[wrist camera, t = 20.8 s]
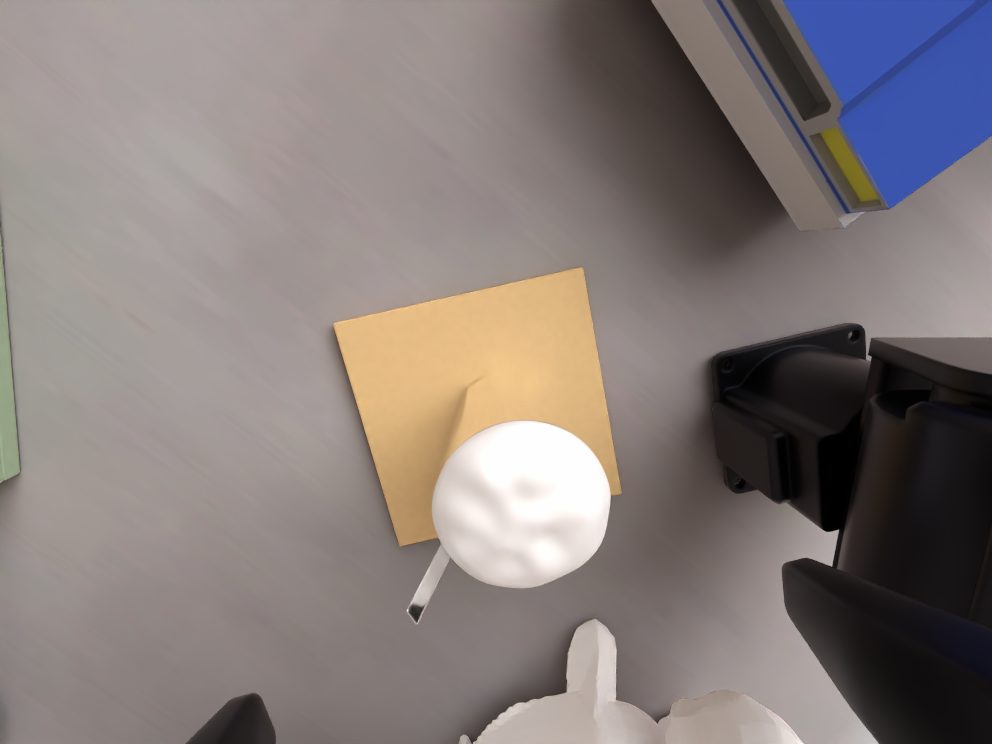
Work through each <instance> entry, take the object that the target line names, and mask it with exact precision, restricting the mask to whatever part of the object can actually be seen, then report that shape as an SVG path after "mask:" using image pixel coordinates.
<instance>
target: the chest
mask: <svg viewBox="0 0 992 744" xmlns="http://www.w3.org/2000/svg"><path fill="white" fill-rule="evenodd" d="M19 473H20V464H19V451H18V439H17V427H16V414H15V402H14V389H13V377H12V365H11V352H10V340H9V327H8V315H7V303H6V290H5V278H4V265H3V253H2V241H1V228H0V483H2V482H3V481H5V480H7V479H9V478H11V477H13V476H15V475H17V474H19Z"/></svg>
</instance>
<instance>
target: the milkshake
mask: <svg viewBox="0 0 992 744" xmlns="http://www.w3.org/2000/svg"><path fill="white" fill-rule="evenodd" d="M610 501H611V495H610V487H609V483H608V480H607V477H606V474H605V472H604V470H603V468H602V466H601V464H600V462H599V460H598V459H597V457H596V456H595V454H594V453H593V452H592V451H591V449H590V448H589V447H588V446H587V445H586V444H585V443H584V442H583V441H582V440H581V439H580V438H579V437H577V436H576V435H575V434H574V433H573V432H572V431H571V430H570V429H569V428H568V427H567V426H566V425H565V424H563V423H562V422H561V421H560V420H559V419H558V418H557V417H555V416H554V415H553V414H552V413H551V412H550V410H549V409H548V408H547V407H546V406H545V405H544V404H543V403H542V402H541V401H540V399H539V398H538V397H537V396H536V395H535V394H534V393H533V392H532V391H531V390H530V389H529V388H527V387H526V386H525V385H524V384H523V383H522V382H521V381H520V380H519V379H518V378H517V377H515V376H507V375H498V374H489V375H487V376H485V377H483V378H482V379H480V380H478V381H476V382H474V383H473V384H471V385H469V386H468V387H467V390H466V392H465V394H464V396H463V398H462V400H461V402H460V404H459V407H458V409H457V413H456V417H455V421H454V425H453V429H452V434H451V438H450V442H449V446H448V450H447V452H446V455H445V458H444V461H443V465H442V468H441V471H440V474H439V477H438V480H437V483H436V486H435V489H434V493H433V499H432V518H433V523H434V527H435V530H436V533H437V535H438V538H439V540H440V542H441V545H440V546H439V548H438V550H437V552H436V554H435V556H434V558H433V560H432V562H431V563H430V565H429V567H428V569H427V571H426V573H425V575H424V577H423V579H422V581H421V582H420V584H419V586H418V588H417V590H416V592H415V594H414V596H413V598H412V599H411V601H410V603H409V605H408V607H407V614H408V615H409V616H410V618H411V619H412V621H413V622H414V623H415V624H416V625H417V624H418V623H419V621H420V619H421V617H422V615H423V613H424V611H425V609H426V607H427V605H428V603H429V601H430V599H431V597H432V595H433V593H434V591H435V589H436V587H437V585H438V583H439V581H440V579H441V577H442V574H443V572H444V570H445V568H446V566H447V564H448V562H449V560H450V558H452V559H453V561H454V562H455V563H456V564H457V565H458V566H459V567H460V568H462V569H463V570H464V571H465V572H466V573H468V574H469V575H471V576H472V577H474V578H476V579H477V580H480V581H482V582H484V583H487V584H490V585H495V586H500V587H508V588H529V587H536V586H540V585H543V584H546V583H548V582H551V581H553V580H555V579H558V578H560V577H562V576H564V575H566V574H568V573H570V572H572V571H574V570H576V569H577V568H579V567H580V566H582V565H583V564H584V563H585V562H587V561H588V560H589V559H590V558H591V557H592V555H593V554H594V553H595V552H596V551H597V549H598V548H599V546H600V544H601V543H602V540H603V538H604V535H605V531H606V527H607V521H608V515H609V509H610Z"/></svg>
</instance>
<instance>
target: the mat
mask: <svg viewBox="0 0 992 744" xmlns="http://www.w3.org/2000/svg"><path fill="white" fill-rule="evenodd" d="M333 327H334V330H335V333H336V337H337V340H338V343H339V347H340V350H341V353H342V357H343V360H344V363H345V367H346V370H347V373H348V377H349V380H350V383H351V387H352V390H353V393H354V397H355V400H356V403H357V407H358V410H359V413H360V417H361V420H362V423H363V427H364V430H365V433H366V437H367V440H368V443H369V446H370V450H371V453H372V456H373V460H374V463H375V466H376V470H377V473H378V476H379V480H380V483H381V486H382V490H383V493H384V496H385V500H386V503H387V506H388V510H389V513H390V516H391V520H392V523H393V526H394V530H395V533H396V536H397V540H398V543H399V546H400V547H401V546H405V545H409V544H414V543H418V542H422V541H426V540H430V539H435V538H438V535H437V533H436V530H435V527H434V523H433V518H432V499H433V493H434V489H435V486H436V483H437V480H438V477H439V474H440V471H441V468H442V465H443V461H444V458H445V455H446V452H447V450H448V446H449V442H450V438H451V434H452V429H453V425H454V421H455V417H456V413H457V409H458V407H459V404H460V402H461V400H462V398H463V396H464V394H465V392H466V390H467V387H468V386H469V385H471V384H473V383H474V382H476V381H478V380H480V379H482V378H483V377H485V376H487V375H489V374H498V375H507V376H515V377H517V378H518V379H519V380H520V381H521V382H522V383H523V384H524V385H525V386H526V387H527V388H529V389H530V390H531V391H532V392H533V393H534V394H535V395H536V396H537V397H538V398H539V399H540V401H541V402H542V403H543V404H544V405H545V406H546V407H547V408H548V409H549V410H550V412H551V413H552V414H553V415H554V416H555V417H557V418H558V419H559V420H560V421H561V422H562V423H563V424H565V425H566V426H567V427H568V428H569V429H570V430H571V431H572V432H573V433H574V434H575V435H576V436H577V437H579V438H580V439H581V440H582V441H583V442H584V443H585V444H586V445H587V446H588V447H589V448H590V449H591V451H592V452H593V453H594V454H595V456H596V457H597V459H598V460H599V462H600V464H601V466H602V468H603V470H604V472H605V474H606V477H607V480H608V483H609V487H610V495H611V496H615V495H619V494H621V493H622V492H621V486H620V481H619V475H618V469H617V463H616V457H615V451H614V445H613V440H612V434H611V428H610V422H609V416H608V410H607V404H606V399H605V393H604V387H603V381H602V375H601V369H600V364H599V358H598V352H597V346H596V340H595V334H594V328H593V323H592V317H591V311H590V305H589V299H588V293H587V287H586V282H585V276H584V270H583V268H581V267H578V268H574V269H570V270H565V271H561V272H556V273H552V274H548V275H543V276H539V277H534V278H530V279H525V280H521V281H517V282H512V283H508V284H503V285H499V286H495V287H490V288H486V289H481V290H477V291H472V292H468V293H464V294H459V295H455V296H450V297H446V298H441V299H437V300H433V301H428V302H424V303H419V304H415V305H411V306H406V307H402V308H397V309H393V310H388V311H384V312H380V313H375V314H371V315H366V316H362V317H358V318H353V319H349V320H344V321H340V322H336V323H334V324H333Z"/></svg>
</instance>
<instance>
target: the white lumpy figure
mask: <svg viewBox="0 0 992 744" xmlns="http://www.w3.org/2000/svg"><path fill="white" fill-rule="evenodd" d="M616 654H617V649H616V644H615V637H614V636H613V635H612V634H611V633H610V632H609V630H608V629H607V627H606V626H604V625H603V624H602V623H600V622H599V621H598V620H597V619H593V620H590V621H586V622H585V623H584V624H582V625H581V626H579V627H578V628H577V629H576V632H575V633H574V637H573V638H572V641H571V647H570V648H569V652H568V659H567V661H568V663H567V675H566V678H567V680H568V682H567V691H566V693H563V694H559V695H554V696H545V697H543V698H541V699H532V700H530V701H528V702H527V703H516V704H515V705H514V706H513V707H509V708H508V709H507V711H506V712H504V713H501V714H500V715H499V716H498V718H497V719H496V720H492V723H491V724H489V725H488V726H487V727H486V729H485V731H483V732H482V733H481V735H480V736H478V738H477V741H475V742H473V744H803V742H802V741H801V740H800V739H799V738H798V736H797V735H796V733H795V732H794V731H793V730H792V729H791V728H790V727H789V725H788V724H787V723H785V722H784V721H783V720H782V719H781V718H780V717H779V716H778V715H776V714H775V713H773V712H772V711H770V710H769V709H767V708H766V707H764V706H763V705H761V704H760V703H758V702H757V701H755V700H754V699H752V698H750V697H749V696H747V695H745V694H742V693H739V692H731V691H725V690H722V691H714V692H711V693H710V694H708V695H706V696H704V697H701V698H699V699H695V700H691V699H680V700H678V701H676V702H674V703H672V706H671V710H670V714H669V715H668V716H667V717H664V718H662V719H661V720H659V723H658V724H657V723H656V722H655V721H654V720H653V719H652V718H651V717H650V716H649V715H648V714H646V713H645V712H644V711H643V710H641V709H639V708H637V707H636V706H634V705H632V704H630V703H626V702H622V701H618V700H616ZM459 744H472V743H471V741H470V739H469V737H468V736H467V735H462V736H460V741H459Z"/></svg>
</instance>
